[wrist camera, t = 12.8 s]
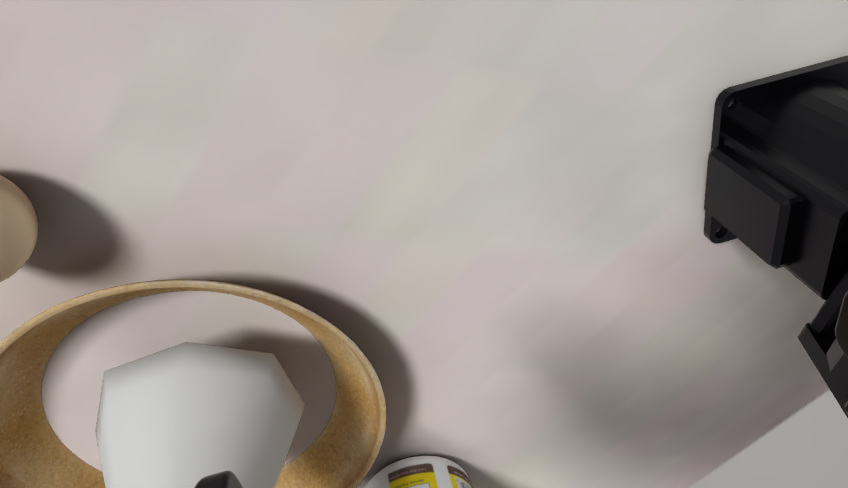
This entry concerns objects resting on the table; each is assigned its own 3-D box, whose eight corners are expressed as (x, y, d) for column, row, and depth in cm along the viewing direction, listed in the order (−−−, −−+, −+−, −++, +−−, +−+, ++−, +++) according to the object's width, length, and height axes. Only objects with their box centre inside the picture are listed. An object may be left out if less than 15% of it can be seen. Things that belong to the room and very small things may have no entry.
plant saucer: (145, 543, 30) (135, 597, 27) (-110, 343, 21) (-154, 399, 19) (425, 426, 29) (437, 472, 27) (276, 173, 21) (276, 212, 19)
